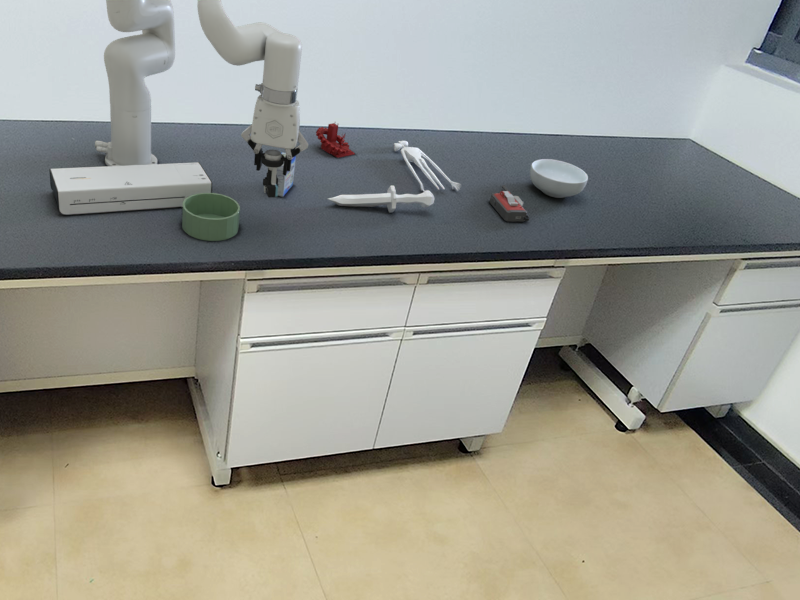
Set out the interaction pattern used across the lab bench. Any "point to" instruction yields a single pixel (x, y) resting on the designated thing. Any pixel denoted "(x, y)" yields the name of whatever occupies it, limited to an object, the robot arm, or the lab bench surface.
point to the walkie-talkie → (509, 206)
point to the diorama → (333, 141)
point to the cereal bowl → (557, 178)
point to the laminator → (126, 187)
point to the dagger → (384, 199)
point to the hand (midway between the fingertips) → (272, 169)
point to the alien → (420, 163)
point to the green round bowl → (210, 216)
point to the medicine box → (285, 178)
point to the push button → (272, 171)
